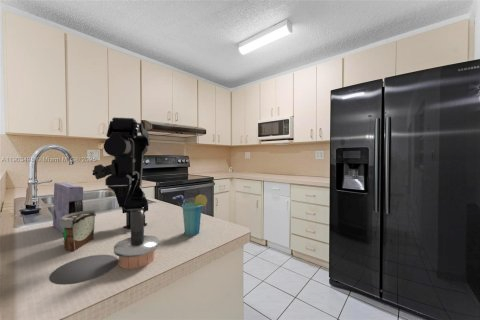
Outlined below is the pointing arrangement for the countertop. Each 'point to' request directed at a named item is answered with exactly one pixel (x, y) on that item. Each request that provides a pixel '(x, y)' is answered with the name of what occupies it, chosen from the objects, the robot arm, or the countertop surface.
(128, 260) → the terracotta bowl
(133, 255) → the steel lid
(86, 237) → the food container
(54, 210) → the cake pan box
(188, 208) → the cup
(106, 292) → the countertop surface
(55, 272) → the rubber mat
